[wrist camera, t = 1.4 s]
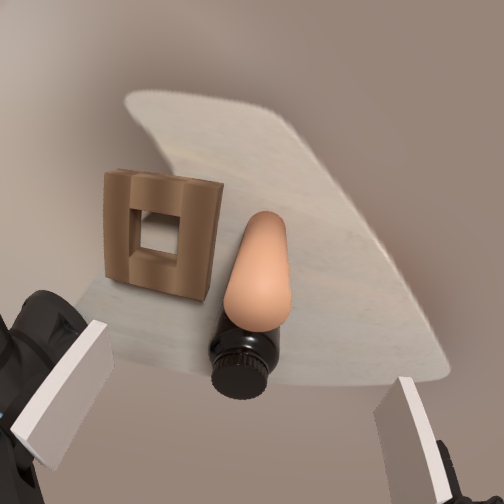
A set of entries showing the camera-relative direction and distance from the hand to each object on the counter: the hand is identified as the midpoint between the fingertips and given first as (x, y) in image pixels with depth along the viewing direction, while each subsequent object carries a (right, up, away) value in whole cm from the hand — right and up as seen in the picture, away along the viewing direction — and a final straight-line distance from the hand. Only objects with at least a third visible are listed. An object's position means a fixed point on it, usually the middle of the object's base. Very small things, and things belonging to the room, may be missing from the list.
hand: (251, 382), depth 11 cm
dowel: (+2, +8, +18) cm, 20 cm away
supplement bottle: (0, -1, +22) cm, 22 cm away
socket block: (-10, +8, +19) cm, 23 cm away
